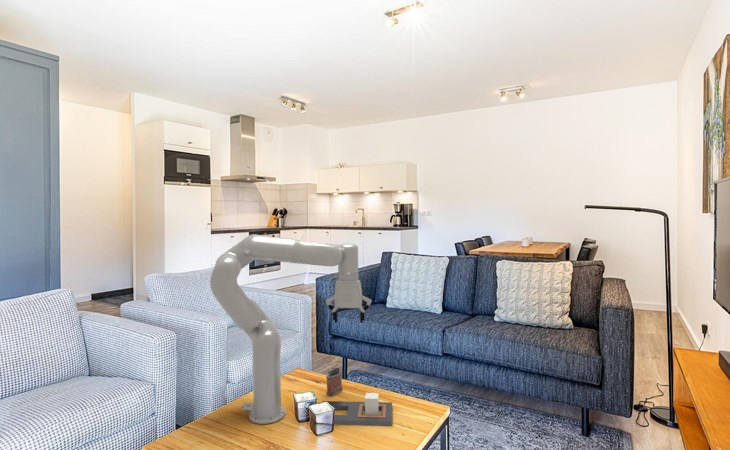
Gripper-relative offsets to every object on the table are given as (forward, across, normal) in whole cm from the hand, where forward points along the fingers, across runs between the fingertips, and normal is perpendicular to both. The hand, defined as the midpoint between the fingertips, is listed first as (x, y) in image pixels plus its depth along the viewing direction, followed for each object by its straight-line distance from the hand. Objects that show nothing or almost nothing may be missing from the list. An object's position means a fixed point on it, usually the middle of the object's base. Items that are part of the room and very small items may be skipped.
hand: (348, 322), depth 156 cm
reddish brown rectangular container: (+31, -7, +8) cm, 32 cm away
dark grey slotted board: (+30, +3, -10) cm, 32 cm away
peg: (+30, +9, -10) cm, 33 cm away
